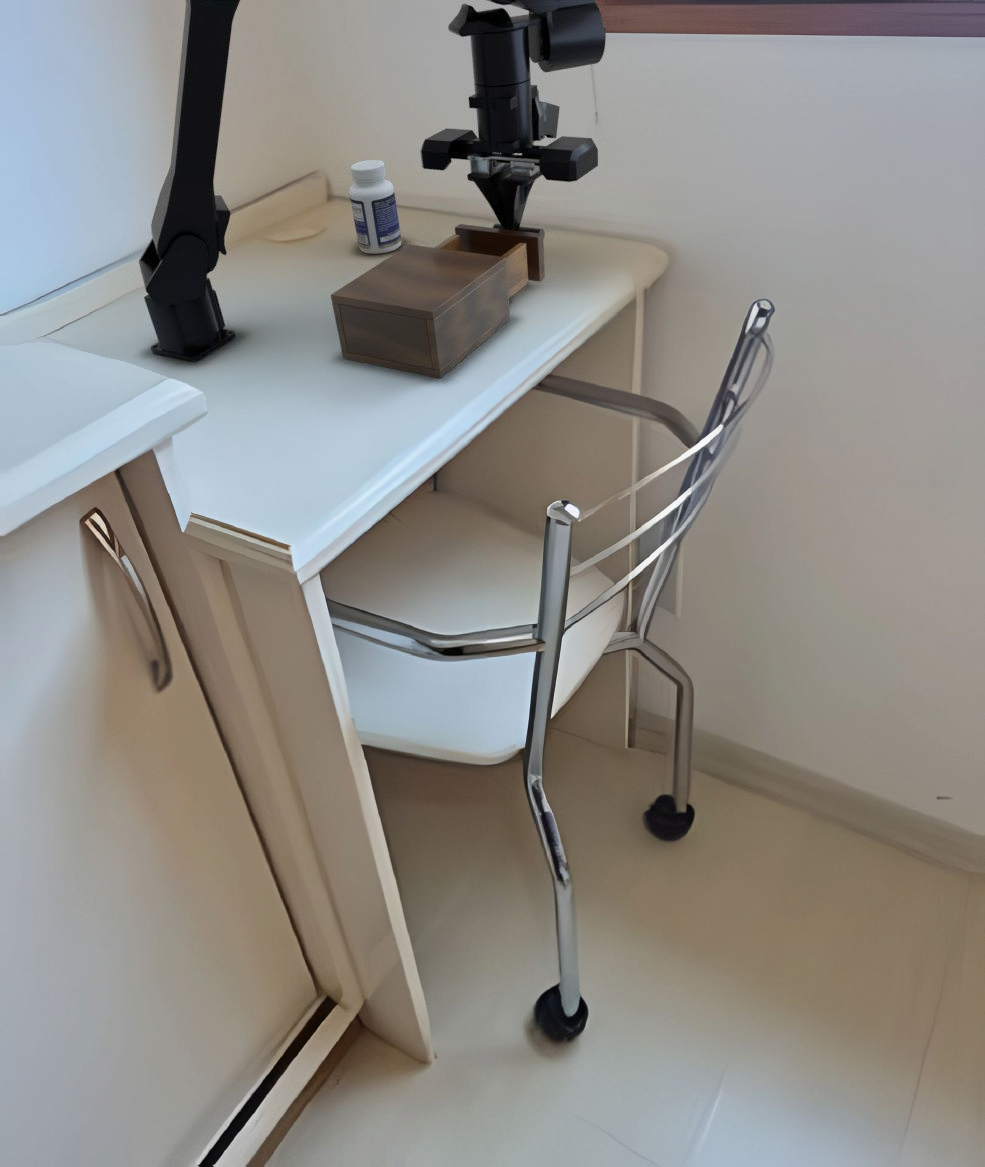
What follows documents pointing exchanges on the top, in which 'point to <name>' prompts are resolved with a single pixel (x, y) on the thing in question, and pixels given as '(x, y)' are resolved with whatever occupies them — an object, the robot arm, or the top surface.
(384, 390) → the top surface
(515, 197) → the robot arm
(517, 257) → the drawer
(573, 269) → the top surface
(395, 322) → the cabinet
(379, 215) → the pill bottle
